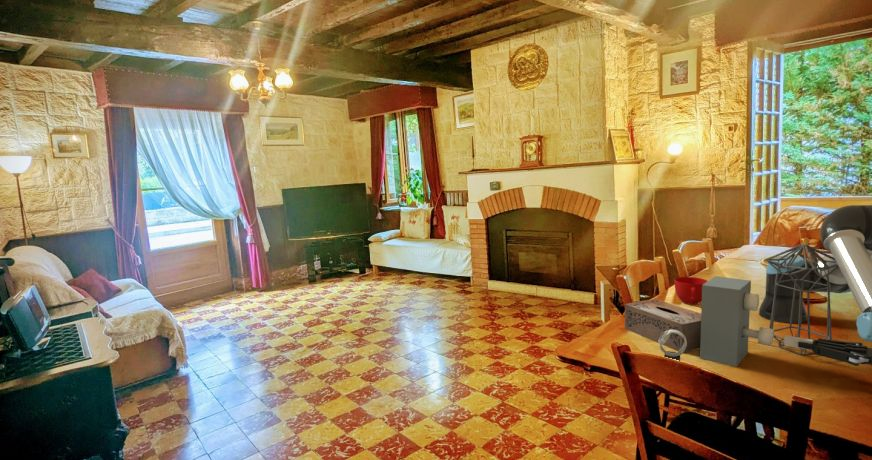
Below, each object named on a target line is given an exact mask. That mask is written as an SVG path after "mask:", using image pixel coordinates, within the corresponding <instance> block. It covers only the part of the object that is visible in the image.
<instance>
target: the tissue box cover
mask: <svg viewBox="0 0 872 460" xmlns="http://www.w3.org/2000/svg"><path fill="white" fill-rule="evenodd" d="M626 329H627V331H629V332H632V333H633V332H634V334H635V335H639V336H641V337H643V338H646V339H647V340H650V341H652V342H655V343H658V341H659V339H660V337H661V335H662V334H663V333H664V332H665V331H666V330H667V331H668V330H671V329H673V330H678V331H680V332H681V333H683V334H684V336H685V337H686V340H687V347H686V349H685V351H684V352H683V353H687V352H691V351H694V350H700V342H701V312H698V311H695V310H692V309H688V308H685V307H684V306H683V307H682V306H678V305H676V304H673V303H669V302H667V301H663V300H661V299H660V300H659V299H657V298H652V299H651V298H650V299H647V300H640V301H633V302H629V303H625V304H624V330H626ZM684 342H685V340H684V338H683V337H682V336H680V335H679V334H677V333H671V334H670V336H669V338H668V340H667V341H666V342H665V343H664V344H663V345H662V346H664V347H667V348H669V349H672V350H674V351H675V352H679V350H680V349H681V348H682V346H683V344H684ZM658 344H659V343H658Z"/></svg>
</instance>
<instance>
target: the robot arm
mask: <svg viewBox="0 0 872 460" xmlns="http://www.w3.org/2000/svg"><path fill="white" fill-rule="evenodd" d="M819 236H820V237H819V238H820V242H821V244H822V246H823V247H824V249H825V250H826V251H827V252H829V253H831V254H828V255H829V256H831V257H833V258H835V260H836V262H837V264H838V266H839V268H838V269H836V270H835V271H834V272H832V273H831V274H830V275H829V283H830V286H831V287H830V294H831V293H832V294H833V293H834V294H845V293H846V294H847V293H850V292H851V294H852V296H853V298H854V300H855V301H856V304H857V306H858V308H859V310H860V312H861V313H860V314H859V315H858V316H857V317H856V324H855V325H856V328H857V330H856V331H857V334H858V335H859V337H860V338H861V339H862V340H863V341H865V342H867V343H872V204H869V205H868V204H865V205H864V204H863V205H862V204H859V205H857V204H855V205H854V204H853V205H846V206H842V207H839V208H836V209H835V210H833V211H832V212H831V213H829V214H828V215H827V216H826V217H825V219H824V220H823V221H822V223H821V227H820V230H819ZM789 256H790V255H788V256H786V257H784V258H787V257H789ZM781 257H782V256H777V257H774V258H772V259H779V258H781ZM784 258H783V259H784ZM821 258H823V259H824V260H828V261H835V260H832V259H830V258H828V257H826V256H824V255H823V256H821ZM790 259H791V257H790ZM790 259H788V260H787V261H786V265H787V264H788V262H789V260H790ZM792 260H793V259H792ZM783 261H784V260H780V261H779V263H782V262H783ZM808 261H809V262H810V263H811V261H812V264H813V265H814V266H815V264H816V263H815V261H814V260H811V261H810V260H808ZM774 262H778V261H774ZM790 263H791V262H790ZM818 264H819V265H820V267H821V268H823V267H824V264H823V263H822V262H821V261H820V260H818ZM826 264H827V265H828V266H832V265H834V264H836V263H833V262H827V263H826ZM773 265H774V264H773ZM777 265H778V264H777ZM782 265H784V263H783V264H782ZM807 265H808V269H811V268H812V266H811V265H810V264H809V263H808V262H807ZM774 266H775V265H774ZM775 267H776V268H778V267H777V266H775ZM791 267H802V268H806V267H805V260H804V259H803V258H802V257H801V256H797V258H796V259H795V261H794V262H793V264H792V265H791ZM816 267H818V266H817V265H816ZM825 267H826V266H825ZM836 267H837V266H836ZM836 267H833V268H830V269H829V272H830V271H832V270H833V269H834V268H836ZM790 269H791V270H792V271H793V272H796V271H799V270H802V269H794V268H790ZM790 269H789V268H788V270H789V274H790V273H792V272H791V270H790ZM808 269H807V270H804V271H802V272H799V273H796V274H795V275H796V276H797V278H798V279H802V278H803V277H804V276H805V275H806V274H807V273H808V272H809V271H810V270H808ZM780 270H781V272H782V273H787V268H780ZM816 271H817V272H818V273H819V275H820V270H818V269H816ZM825 271H826V274H827V273H828V269H827V270H825ZM765 273H766V274H765V275H766V276H765V277H766V279H765V295H764V298H763V300H762V302H761V304H760V306H759V307H758V315H759V316H760V317H762V318H764V319H766V320H771V314H772V307H773V300H774V291H775V280H776V274H777V270H776V269H775V268H774V267H773V266H771V265H770V264H769V263H768V262H767V264H766V270H765ZM782 275H783V274H780V273H778V279H777V282H779V280H780V278H781V276H782ZM795 275H794V274H793V275H792V277H793V278H794V279H797V278H796V277H795ZM823 275H825V272H824V271H822V276H823ZM790 279H792V278H791V277H790V275H783V277H782V279H781V280H780V281H785V280H790ZM818 279H819V276H818V275H817V274H816V273H815V272H814V271H813V270H812V271H811V272H810V273H809V274H808V275H807V276H806V277H805V278H804V280H807V281H812V282H816V281H817V280H818ZM817 283H821V284H825V285H827V278H826V277H823V278H820V280H819V281H818V282H817ZM797 284H798V286H799V287H800V288H801V286H802V281H797ZM814 284H815V283H811V282H806V281H804V284H803V290H805V291H809V289H810V288H811V287H812V286H813V285H814ZM778 285H782V286H786V287H790V288H794V285H795V283H794V281H793V280H791V281H786V282H780V283H779V284H778ZM782 286H777V293H776V302H775V313H774V322H780V323H789V324H790V319H791V311H792V302H793V293H794V290H793V289H790V288H786V287H782ZM826 287H827V286H824V285H820V284H815V285H814V287H813V288H812V289H811V290H816V289H821V288H826ZM796 289H798V287H797V286H796ZM798 290H799V289H798ZM811 293H828V292H827V289H822V290H817V291H812V292H811ZM799 302H800V291H797V290H796V293H795V302H794V310H793V319H792V324H798V321H799ZM805 322H808V311H807V308H806V306H805V302H803V304H802V323H805ZM793 336H794V335H793ZM793 336H792V335H787V334H785V335H784V338H785V339H784V340H783V342H784V345H783V346H785V347H786V346H787V347H790V348H791V347H792V348H795V349H798V348H801V349H806V351H811V352H814V353H813V354H814V355H816V356H821V357H824V358H828V359H831V360H836V361H838V362H844V363H846V364H849V365H853V366H855V367H860V366H859V365H872V348H871V347H868V346H866V345H864V344H863V343H862V342H852V341H843V340H835V339H832V340H829V339H828V338H826V339H824V338H817V339H811V338H810V339H808V338H803V337H800V338H799V337H798V336H797V337H795V336H794V337H793ZM801 349H800V350H801Z"/></svg>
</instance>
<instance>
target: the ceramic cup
mask: <svg viewBox="0 0 872 460" xmlns="http://www.w3.org/2000/svg"><path fill="white" fill-rule="evenodd" d="M708 281H709V280H707V279H704V278H702V277H701V278H700V277H695V276H692V277H691V276H679V277H676V278H674V290H675V293H676V296H677V297H678V299H679V300H680V301H681V302H682V304H685V305H693V306H695V305H699V304H700V303H702V285H703V284H705V283H706V282H708Z"/></svg>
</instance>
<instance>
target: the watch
mask: <svg viewBox="0 0 872 460" xmlns="http://www.w3.org/2000/svg"><path fill="white" fill-rule="evenodd" d="M671 333H677V334H679V335H680V336H682V337H683V338H684V340H685V342H684V344H683V346H682V348H681V349H680V350H679V352H678V351H670V350H668V351H667V350H665V349H664V348H663V346H664V345H663V344H664V343H665V342H666V341H667V340H668V338H669V336H670V334H671ZM658 346H659V347H658V348H659V349H660V351H661V352H662V353H663V354H664V357H668V358H672V359H676V360H679V361H680V362H681V355H683V354H684V353H685V352H684V351H685V349H686V347H687V340H686V337H685V336H684V334H683V333H681V332H680V331H678V330H673V329H671V330H668V331H667V330H666V331H665V332H664V333H663V334H662V335H661V337H660V339H659V341H658Z"/></svg>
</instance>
